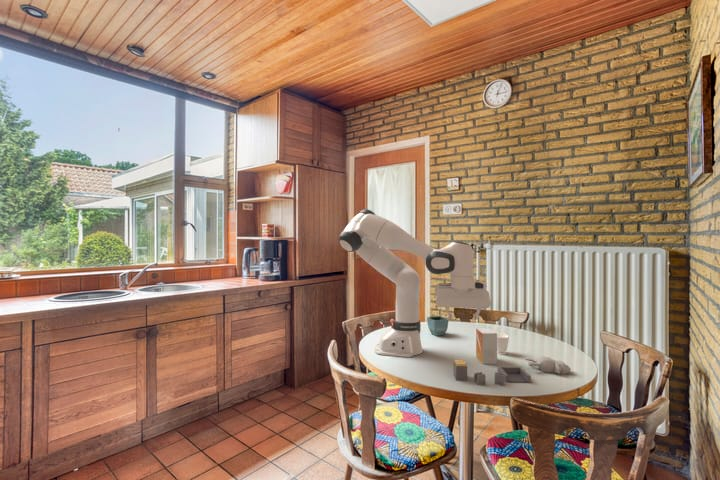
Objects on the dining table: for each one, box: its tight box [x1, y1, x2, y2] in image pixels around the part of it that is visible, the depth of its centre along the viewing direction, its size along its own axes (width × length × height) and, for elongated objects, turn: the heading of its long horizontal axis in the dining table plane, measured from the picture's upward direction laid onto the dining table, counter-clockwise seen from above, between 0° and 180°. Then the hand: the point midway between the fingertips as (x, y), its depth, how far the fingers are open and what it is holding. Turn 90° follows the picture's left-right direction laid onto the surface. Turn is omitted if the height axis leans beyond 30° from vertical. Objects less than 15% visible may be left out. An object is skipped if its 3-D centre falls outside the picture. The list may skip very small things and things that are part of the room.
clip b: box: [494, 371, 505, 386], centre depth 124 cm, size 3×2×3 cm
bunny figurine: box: [525, 355, 571, 375], centre depth 135 cm, size 10×5×15 cm
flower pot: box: [426, 315, 450, 337], centre depth 187 cm, size 9×9×9 cm
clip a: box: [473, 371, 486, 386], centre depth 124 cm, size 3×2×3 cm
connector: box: [453, 359, 468, 382], centre depth 129 cm, size 4×5×6 cm
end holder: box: [496, 365, 532, 384], centre depth 129 cm, size 9×9×2 cm
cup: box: [497, 333, 510, 356], centre depth 157 cm, size 7×10×8 cm
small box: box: [475, 327, 498, 365], centre depth 147 cm, size 8×6×13 cm
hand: (462, 318), depth 132 cm, fingers open, 8 cm apart
